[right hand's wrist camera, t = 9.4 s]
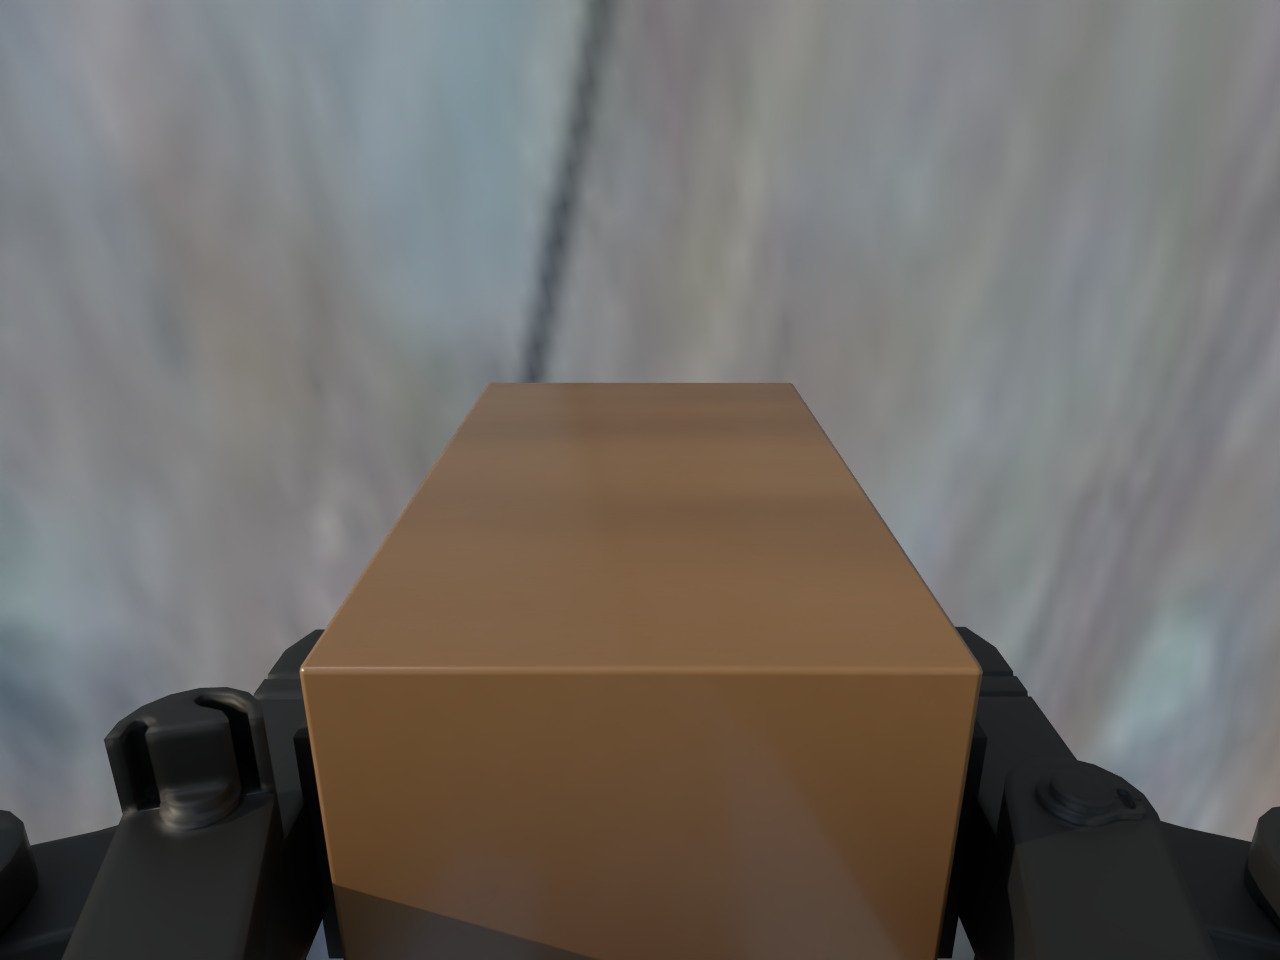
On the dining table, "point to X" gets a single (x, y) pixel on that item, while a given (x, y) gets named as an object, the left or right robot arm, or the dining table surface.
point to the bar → (640, 695)
